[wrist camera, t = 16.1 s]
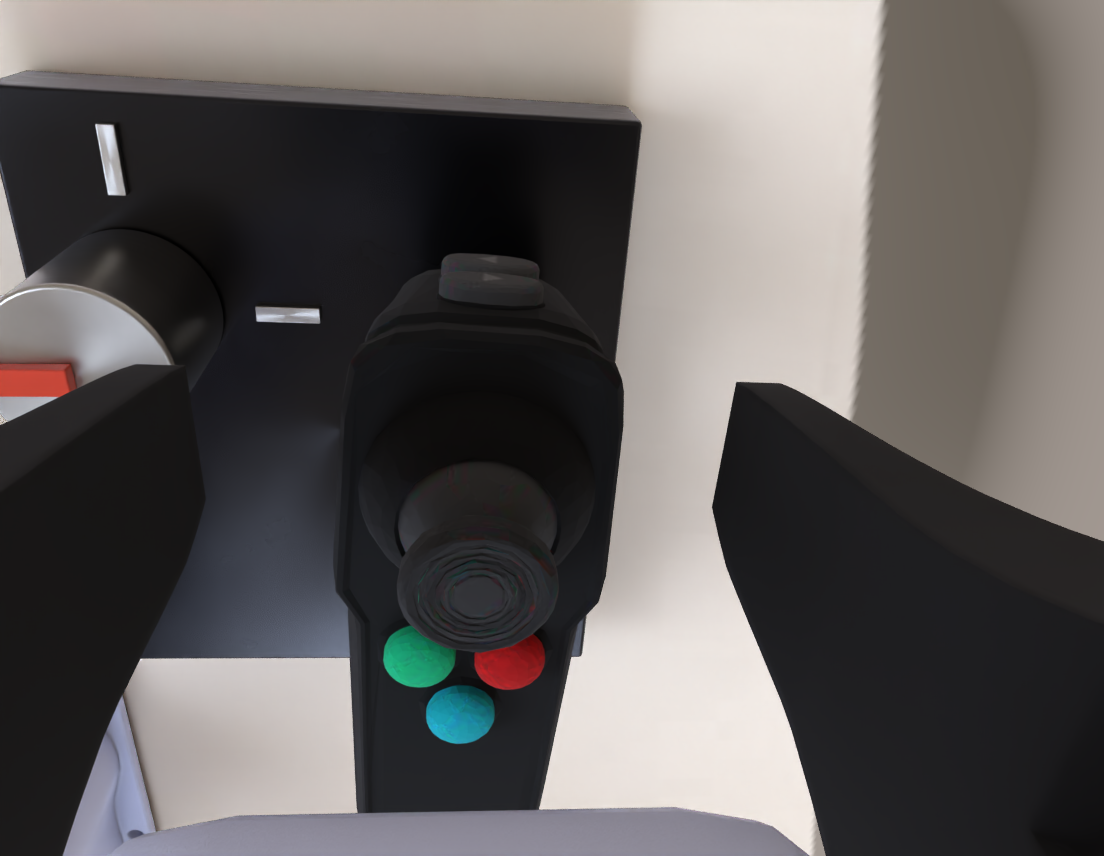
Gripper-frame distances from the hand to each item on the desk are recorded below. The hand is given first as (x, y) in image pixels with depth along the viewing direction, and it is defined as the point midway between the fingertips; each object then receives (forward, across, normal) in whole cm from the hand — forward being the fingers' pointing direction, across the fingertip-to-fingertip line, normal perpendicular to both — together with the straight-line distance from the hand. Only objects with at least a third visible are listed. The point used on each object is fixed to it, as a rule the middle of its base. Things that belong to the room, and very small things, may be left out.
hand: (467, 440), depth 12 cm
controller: (+9, 0, +5) cm, 10 cm away
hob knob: (+8, +7, +2) cm, 11 cm away
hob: (+10, +3, +5) cm, 12 cm away
